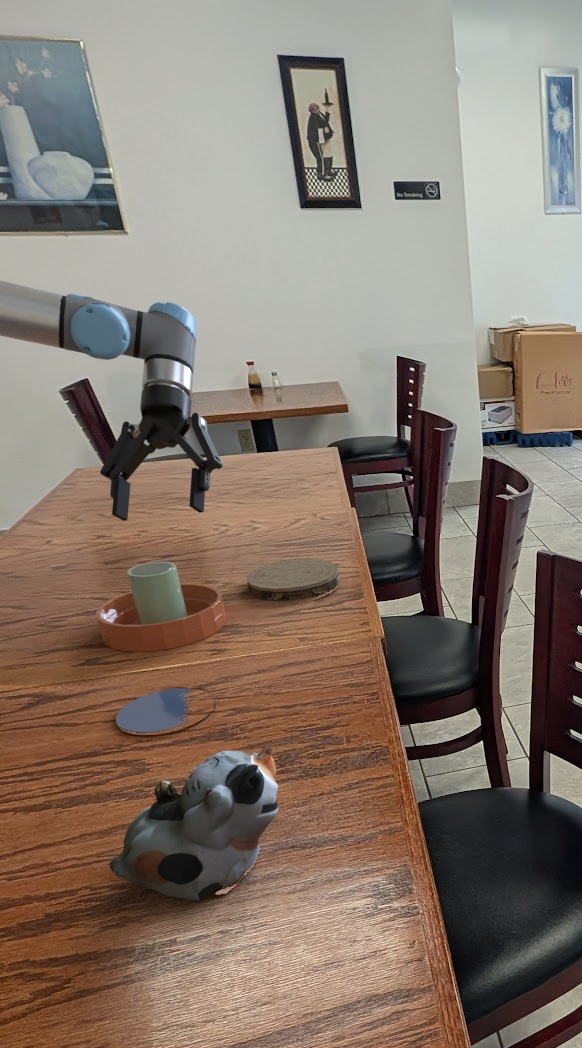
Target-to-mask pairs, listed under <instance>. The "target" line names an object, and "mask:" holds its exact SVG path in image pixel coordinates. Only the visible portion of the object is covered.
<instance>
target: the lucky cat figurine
mask: <svg viewBox="0 0 582 1048" xmlns="http://www.w3.org/2000/svg"><path fill="white" fill-rule="evenodd" d="M272 751H273V749H272V746H271V745H269V746H266V747H264V748H262V750H261V751H260V752H259V753H257V752H255V751H253V752H251V753H249V752H245V751H241V750H223V751H220V752H217V753H215V754H213V755H212V756H210V757H208V758H206V759H205V760H204V761H202V762H201V763H200V764H197V765H196V766H195V767H193V769H192V772H191V773H190V774H189V776H188V777H187V778H186V780H185V783H184V786H183V787H182V791H181V794H180V793H178V790H177V789H176V787H175V785H174V784H173V783H172V782H171V781H169V780H160V781H159V783H158V784H157V785H156V786H155V787H154V791H153V793H154V796H155V799H156V801H155V802H154V803H152V805H150V806H148V807H146V808H145V809H143V811H141V812H140V813H139V814H137V815H136V816H135V817H134V818H133V820H132V821H131V823H130V824H129V826H128V827H127V830H126V832H125V835H124V839H123V849H122V851H121V853H119V854H118V856H114V857H113V858H112V860H110V861H109V863H108V866H109V868H110V871H111V872H112V873H113V874H114V875H115V876H116V877H119V878H121V879H123V880H125V881H128V882H130V883H132V884H135V885H138V886H140V887H143V888H146V889H148V890H152V891H155V892H159V893H160V894H161V895H164V896H167V897H173V898H177V899H178V898H179V899H184V900H190V901H200V900H203V899H204V898H206V896H208V895H209V894H211V893H212V894H213V895H215V893H216V892H217V891H219V890H221V889H225V888H227V887H231V886H233V885H234V884H237V883H238V882H239V881H240V879H241V878H242V877H243V876H244V874H245V873H246V871H247V870H248V869H249V868H250V867H251V866H252V865H253V864H254V862H255V861H256V859H257V856H258V854H259V855H260V852H259V851H261V848H260V846H259V845H260V844H259V839H260V838H261V836H262V835H263V833H264V832H265V830H266V829H267V828H268V826H269V825H270V824H271V822H272V821H273V820H274V819H275V817H276V816H277V814H278V811H279V809H280V808H279V805H278V801H277V794H278V789H279V785H278V783H277V781H276V779H277V767H276V763H275V760H274V758H273V756H272V755H271V754H272ZM240 882H241V881H240ZM240 882H239V883H240Z"/></svg>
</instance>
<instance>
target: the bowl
mask: <svg viewBox="0 0 582 1048" xmlns="http://www.w3.org/2000/svg"><path fill="white" fill-rule="evenodd" d="M180 585H181V589H182V593H183V598H184V602H185V606H186V611H187V615H188V616H187V617H184V618H180V619H177V620H172V621H167V622H162V623H154V624H145V625H140V621H139V617H138V614H137V610H136V606H135V602H134V598H133V594H132V591H129V592H125V593H122V594H120V595H117V596H115V597H113V598H110V599H109V600H107V601H106V602H104V603H103V604H101V605H100V606H99V607H98V609H97V610H96V611H95V613H94V614H95V618H96V621H97V625H98V628H99V632H100V635H101V639H102V641H103V644H104V645H105V646H107V647H109V648H111V649H113V650H117V651H123V652H128V653H129V652H131V653H132V652H135V653H136V652H140V653H141V652H142V653H147V652H155V651H156V652H157V651H165V650H170V649H174V648H179V647H183V646H187V645H191V644H193V643H196V642H199V641H202V640H204V639H206V638H209V637H210V636H212V635H215V634H216V633H217V632H219V631H220V630H221V629H222V628H223V627H224V626H225V625H226V622H227V618H228V617H227V612H226V608H225V602H224V598H223V594H222V593H221V591H220V590H219V588H216V587H214V586H211V585H208V584H201V583H187V582H185V583H181V582H180Z"/></svg>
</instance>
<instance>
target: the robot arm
mask: <svg viewBox="0 0 582 1048" xmlns="http://www.w3.org/2000/svg"><path fill="white" fill-rule="evenodd" d="M196 327H197V325H196V320H195V317H194V316H193V314H192V313H191V312H190V311H189V310H188V309H186V308H185V307H183V306H181V305H179V304H177V303H174V302H170V301H166V302H165V303H164V302H161V301H158V302H154V303H153V304H152V305H150V307H149V308H148V311H141V310H135V309H132V308H130V307H129V308H128V307H126V306H122V305H118V304H115V303H111V302H106V301H103V300H100V299H96V298H93V297H91V296H85V295H84V296H83V295H78V294H74V293H68V294H66V295H62V294H60V293H56V292H52V291H47V290H44V289H43V290H42V289H38V288H34V287H30V286H26V285H20V284H17V283H13V282H9V281H4V280H0V337H4V338H10V339H13V340H18V341H19V340H20V341H24V342H29V343H34V344H39V345H44V346H48V347H53V348H58V349H63V350H66V351H70V352H76V353H81V354H85V355H88V356H90V357H91V358H94V359H98V360H99V359H100V360H105V361H108V360H114V359H117V358H118V357H120V356H122V355H123V356H126V357H131V358H135V359H140V360H144V362H143V370H142V379H141V381H142V382H141V388H142V390H141V393H140V394H141V395H140V408H139V410H140V413H141V420H140V422H139V423H136V424H135V423H134V424H133V423H130V422H129V421H124V422H123V423H122V425H121V429H120V434H119V436H118V438H117V440H116V442H115V443H114V445H113V447H112V449H111V450H110V453H109V455H108V456H107V458H106V459H105V462H104V464H103V465H102V467H101V469H100V471H99V473H100V475H102V476H103V477H105V478H107V479H108V480H110V482H111V483H110V493H109V495H110V498H112V509H111V515H112V516H113V517H116V518H117V519H119V520H121V521H123V522H124V521H128V518H129V508H130V507H129V506H130V495H131V483H130V481H129V482H128V480H129V479H130V478H131V476H132V475H133V474H134V473H135V471H136V470H137V469H138V468H139V467H140V465H141V464H142V463H143V462H144V460H145V459H146V458H147V457H148V456H149V455H150V454H153V453H155V451H156V450H163V449H166V448H171V449H173V448H176V447H177V446H179V447H180V448H181V449H182V450H183V452H184V453H185V454H186V455H187V456H188V457H189V459H190V460H191V461H192V462H193V463H194V465H195V466H196V467H191V476H190V491H189V508H191V509H193V510H195V512H197V513H200V514H201V513H204V511H205V499H206V492H208V491H209V490H210V485H211V473H212V472H213V471H214V470H216V469H217V470H221V469H222V468H223V465H224V464H223V462H222V460H221V458H220V456H219V453H218V451H217V449H216V447H215V445H214V443H213V441H212V439H211V436H210V434H209V432H208V422H207V420H206V419H205V418H203V416H201V415H200V414H199V413H197V412H194V413H193V412H191V411H192V399H191V398H192V396H193V395H192V394H193V382H194V381H193V380H194V368H195V356H196V344H197V337H196V336H197V335H196V334H197V333H196V331H197V330H196ZM190 428H191V429H192V430H193V432H194V435H195V436H196V439H197V441H198V443H199V446H200V448H201V450H202V452H203V454H204V456H205V458H206V459H205V458H204V457H203V455H201V454H200V453H199V451H198V450H197V449H196V448H195V447H194V446H193V444H192V443H191V442H190V440H189V439H188V438H187V437H186V435H187V433H188V432H189V431H190ZM145 441H146V442H147V443H148V444H146V442H145Z"/></svg>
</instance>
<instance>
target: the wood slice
mask: <svg viewBox="0 0 582 1048" xmlns="http://www.w3.org/2000/svg"><path fill="white" fill-rule="evenodd" d="M339 582H340V575H339V569H338V567H337V565H336V564H335V563H334V562H333V563H332V562H331V561H327V560H324V559H315V558H298V559H297V558H295V559H287V560H281V561H275V562H272V563H267V564H265V565H262V566H260V567H257V568H255V569H253V570H252V571H250V572H249V573H248V574H247V575H246V583H247V589H248V593H249V594H250V595H251V596H252V597H253V598H255V599H259V600H263V601H270V602H271V601H272V602H290V601H298V600H304V599H310V598H314V597H317V596H319V595H322V594H324V593H326V592H329V591H330V590H332V589H334V588H335V587H336V586H337V585H338V583H339ZM340 583H341V582H340Z"/></svg>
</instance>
